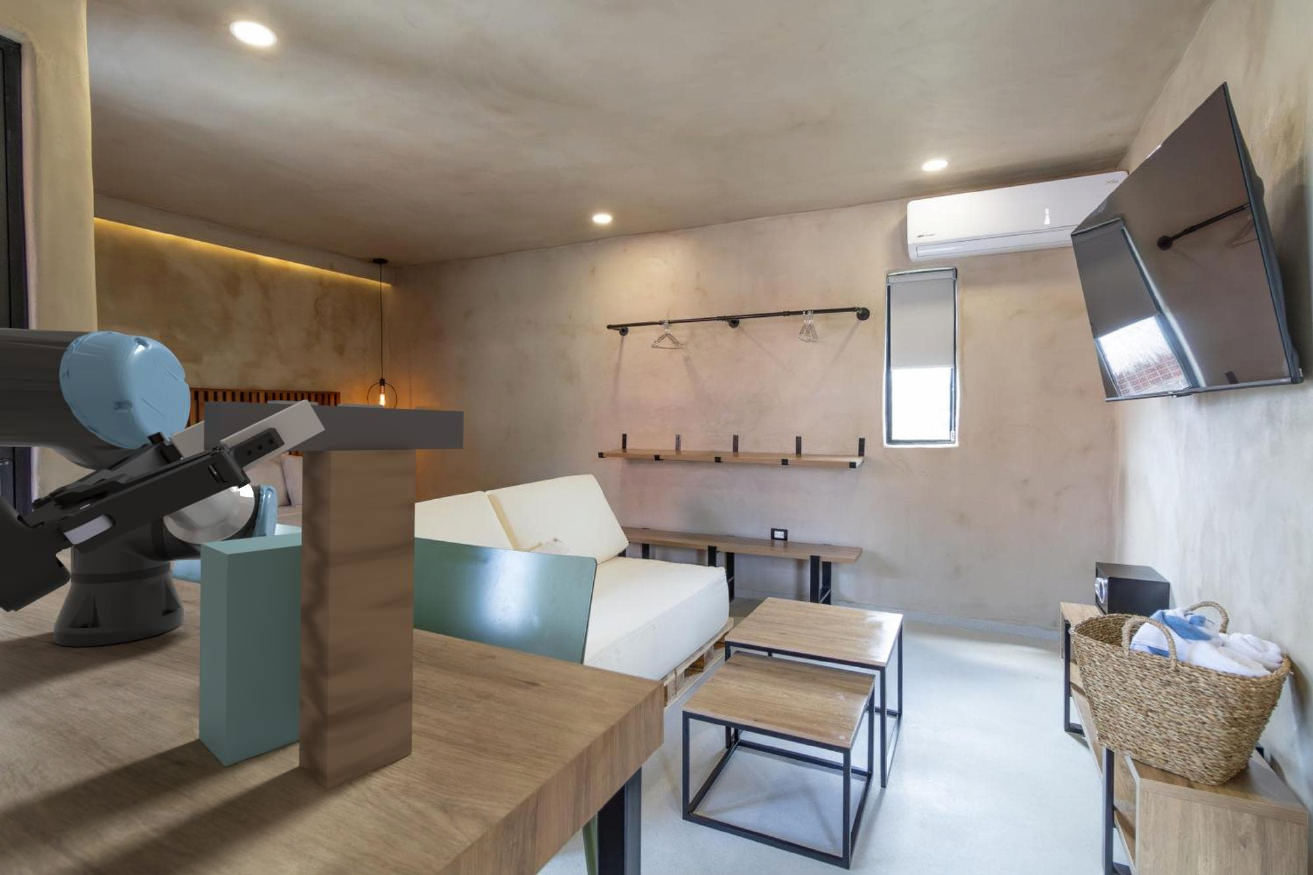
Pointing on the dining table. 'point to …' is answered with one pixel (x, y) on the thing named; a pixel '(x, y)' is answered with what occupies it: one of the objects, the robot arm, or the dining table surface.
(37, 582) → the robot arm
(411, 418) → the power strip
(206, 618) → the teal block
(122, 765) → the dining table surface
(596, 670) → the dining table surface
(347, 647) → the walnut stand
